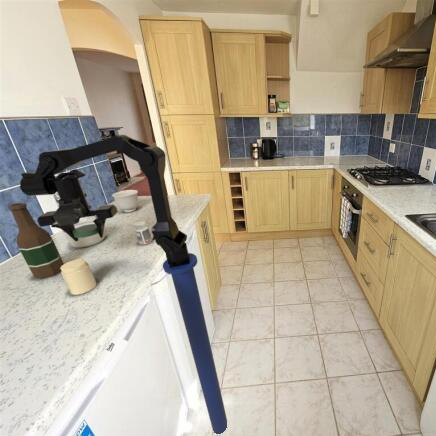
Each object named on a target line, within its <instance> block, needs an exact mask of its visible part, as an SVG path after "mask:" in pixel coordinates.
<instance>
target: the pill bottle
mask: <svg viewBox="0 0 436 436" xmlns="http://www.w3.org/2000/svg"><path fill="white" fill-rule="evenodd" d="M133 226H134V233H135V235H136V239H137V242H138V244H139V245H142V246H143V245H147V244H150V243H151V242H152V241H153V237H152V236H151V231H150V229H149V226H147V223H146V221H138V222H135V223H134V224H133Z"/></svg>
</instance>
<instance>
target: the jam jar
mask: <svg viewBox="0 0 436 436" xmlns="http://www.w3.org/2000/svg"><path fill="white" fill-rule="evenodd" d="M60 269H61V272H60V274H61V277H62V278H63V280H64V282H65V285H66V287H67V288H68V289H67V290H68V291H69V293H70V294H71V295H73V296H74V295H82V294H85V293H87V292H90V291H92V290H93V289H94V288H96V286H97V280H96V279H95V276H94V273H93V271H92V269H91V267H90V264H89V262H88V261H87V260H86V259H84V258H77V259H73V260H70V261H68V262H65V263H64V265H62V266H61V268H60Z"/></svg>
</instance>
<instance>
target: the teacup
mask: <svg viewBox="0 0 436 436" xmlns="http://www.w3.org/2000/svg"><path fill="white" fill-rule="evenodd" d="M138 193H139V191H138V190H136V189H126V190H120V191H117V192H114V193H112V194H111V197H113V199H114V200H115V202H116V204H117V206H118V208H119V209H120V210H123V212H124V213H132V212H134V211H136V210H137V207H138V206H139V199H138V198H139V197H138Z"/></svg>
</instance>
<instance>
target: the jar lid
mask: <svg viewBox="0 0 436 436" xmlns="http://www.w3.org/2000/svg"><path fill="white" fill-rule="evenodd" d="M72 232H73V234H74V237H76V238H84V237H89V236H93V235H95V234H97V233H98V230H97V227H96V224H89V225H84V226H81V227H78V228H76V229H74V230H73V231H72Z"/></svg>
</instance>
